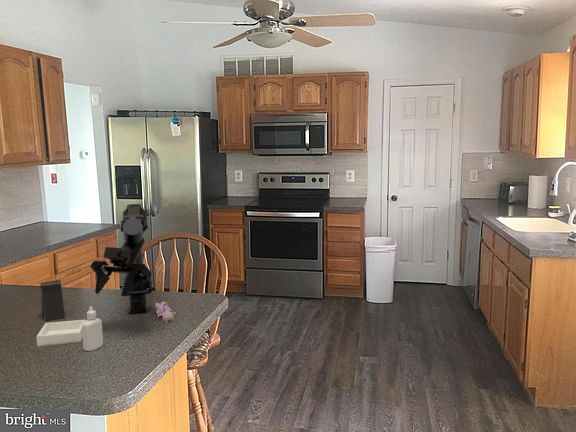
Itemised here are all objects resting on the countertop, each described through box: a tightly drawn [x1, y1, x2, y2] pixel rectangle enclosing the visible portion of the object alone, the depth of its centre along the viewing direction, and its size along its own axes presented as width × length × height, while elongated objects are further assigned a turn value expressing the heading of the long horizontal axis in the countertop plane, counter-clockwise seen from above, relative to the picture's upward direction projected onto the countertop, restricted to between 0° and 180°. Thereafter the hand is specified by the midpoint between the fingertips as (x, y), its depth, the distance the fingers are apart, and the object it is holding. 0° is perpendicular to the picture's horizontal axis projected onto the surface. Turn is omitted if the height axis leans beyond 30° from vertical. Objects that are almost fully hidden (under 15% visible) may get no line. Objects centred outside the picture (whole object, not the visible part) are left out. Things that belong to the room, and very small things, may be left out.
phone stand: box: [40, 279, 66, 322], centre depth 164 cm, size 9×6×12 cm, turn 34°
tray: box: [36, 319, 87, 347], centre depth 146 cm, size 12×12×3 cm
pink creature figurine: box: [154, 301, 177, 324], centre depth 163 cm, size 6×6×15 cm
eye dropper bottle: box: [82, 306, 104, 352], centre depth 137 cm, size 4×6×12 cm
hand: (109, 294), depth 144 cm, fingers open, 9 cm apart
